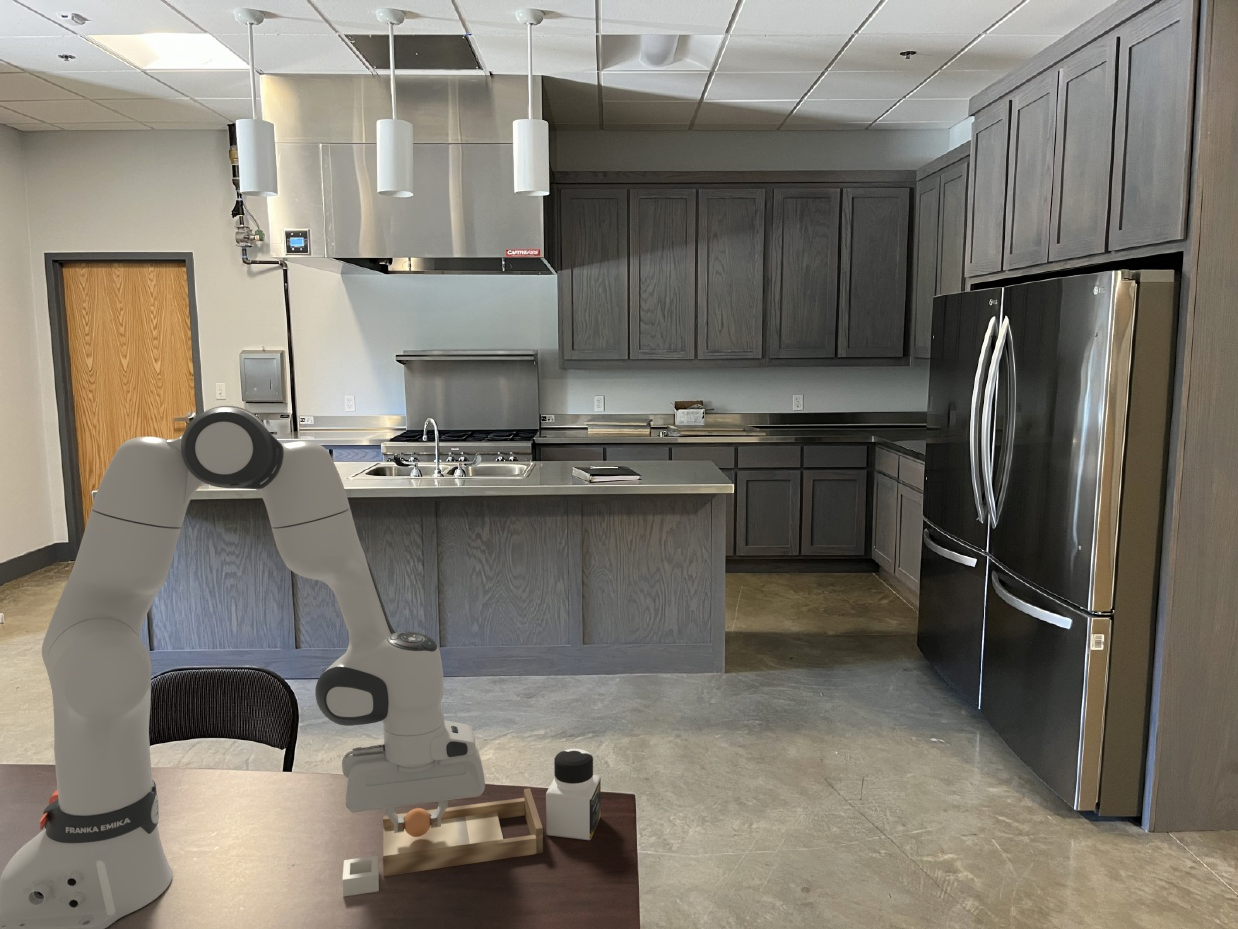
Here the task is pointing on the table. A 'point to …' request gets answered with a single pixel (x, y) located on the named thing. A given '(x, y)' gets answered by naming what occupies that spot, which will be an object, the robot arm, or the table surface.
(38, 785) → the table surface
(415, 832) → the ball
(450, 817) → the lane
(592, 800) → the medicine bottle
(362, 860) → the square ring
